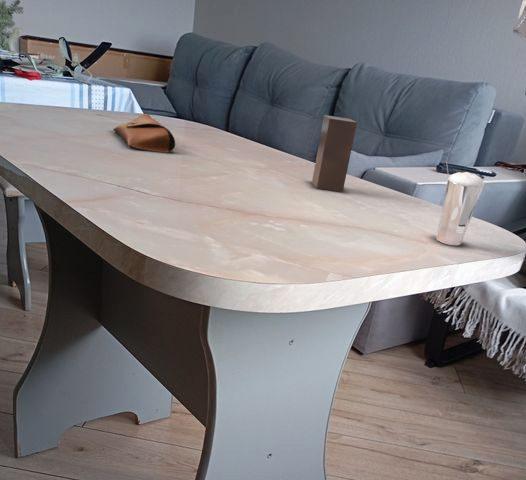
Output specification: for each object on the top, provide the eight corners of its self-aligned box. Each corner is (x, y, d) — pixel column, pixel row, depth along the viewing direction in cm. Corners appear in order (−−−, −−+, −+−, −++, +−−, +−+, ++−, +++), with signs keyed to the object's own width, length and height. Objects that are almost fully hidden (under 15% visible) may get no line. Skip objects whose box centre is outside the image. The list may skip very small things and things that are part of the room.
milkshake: (427, 232, 85) (447, 159, 81) (466, 242, 84) (489, 167, 80) (423, 240, 81) (445, 163, 77) (464, 249, 80) (488, 172, 76)
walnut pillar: (337, 186, 106) (350, 118, 101) (342, 192, 102) (357, 122, 97) (311, 182, 105) (324, 114, 100) (316, 188, 101) (329, 118, 96)
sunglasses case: (109, 128, 121) (128, 99, 120) (139, 149, 125) (157, 121, 124) (128, 146, 107) (150, 113, 106) (160, 169, 111) (182, 138, 110)
